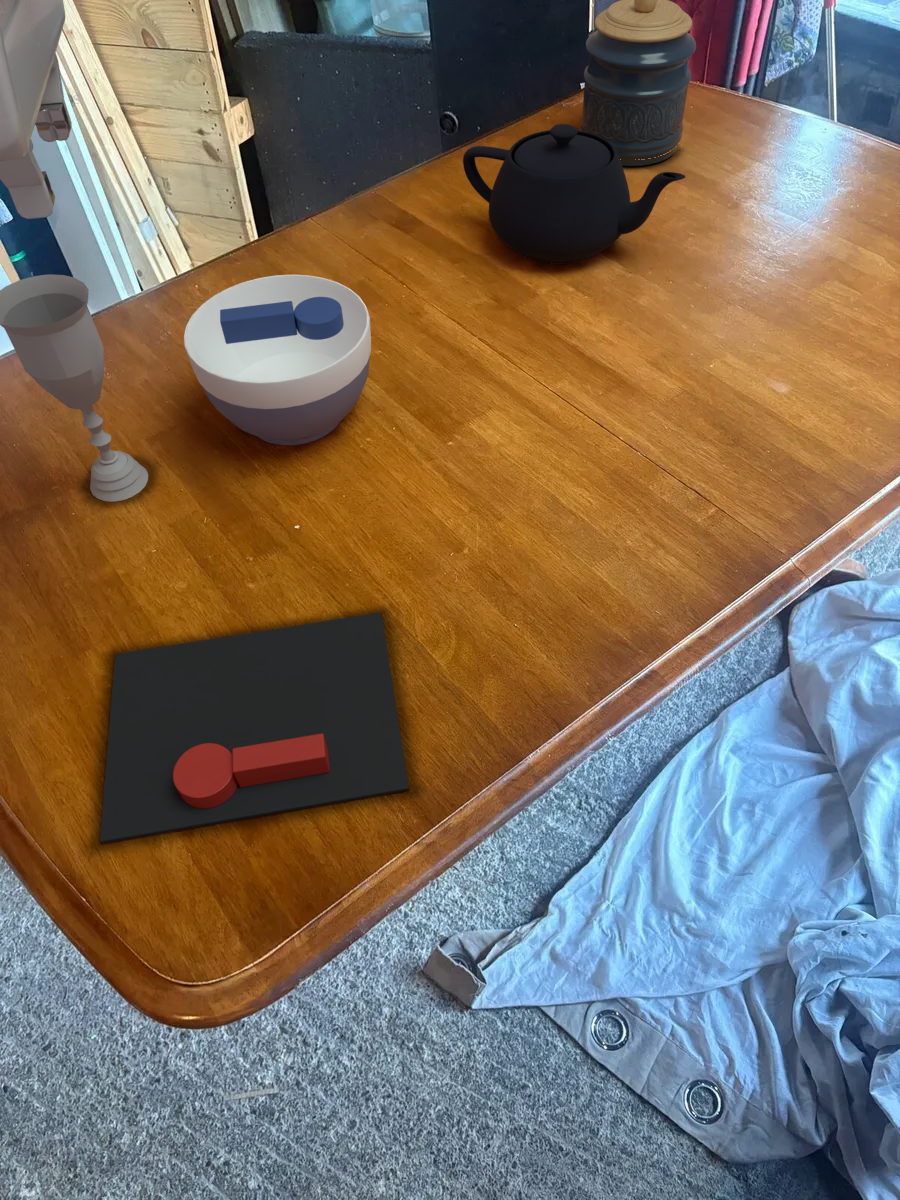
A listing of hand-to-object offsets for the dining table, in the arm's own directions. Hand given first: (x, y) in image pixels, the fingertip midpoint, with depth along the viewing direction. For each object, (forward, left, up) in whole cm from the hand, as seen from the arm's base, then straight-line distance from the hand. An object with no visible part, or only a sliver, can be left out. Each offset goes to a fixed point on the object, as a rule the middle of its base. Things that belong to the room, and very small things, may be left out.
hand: (49, 172), depth 51 cm
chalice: (-6, +8, -30) cm, 32 cm away
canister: (+56, +59, -30) cm, 86 cm away
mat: (+5, -19, -30) cm, 36 cm away
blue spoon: (+11, +13, -21) cm, 26 cm away
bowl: (+10, +14, -30) cm, 35 cm away
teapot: (+42, +38, -30) cm, 64 cm away
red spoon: (+5, -24, -30) cm, 38 cm away
